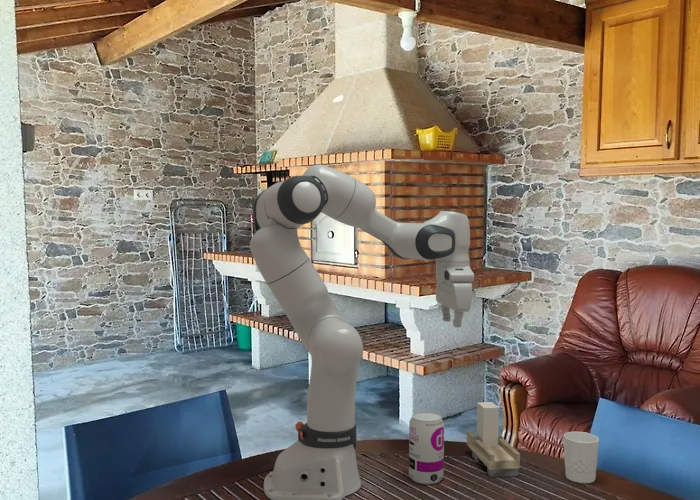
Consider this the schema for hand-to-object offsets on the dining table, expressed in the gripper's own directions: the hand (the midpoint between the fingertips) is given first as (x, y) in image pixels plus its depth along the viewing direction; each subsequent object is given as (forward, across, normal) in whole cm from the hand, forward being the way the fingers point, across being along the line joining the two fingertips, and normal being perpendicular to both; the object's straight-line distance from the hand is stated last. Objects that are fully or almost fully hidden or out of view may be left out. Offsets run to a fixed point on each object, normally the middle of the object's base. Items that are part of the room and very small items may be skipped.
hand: (451, 324), depth 166 cm
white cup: (+34, +21, +26) cm, 48 cm away
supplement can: (+34, +17, -11) cm, 40 cm away
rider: (+30, +6, +8) cm, 32 cm away
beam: (+34, +10, +8) cm, 36 cm away
